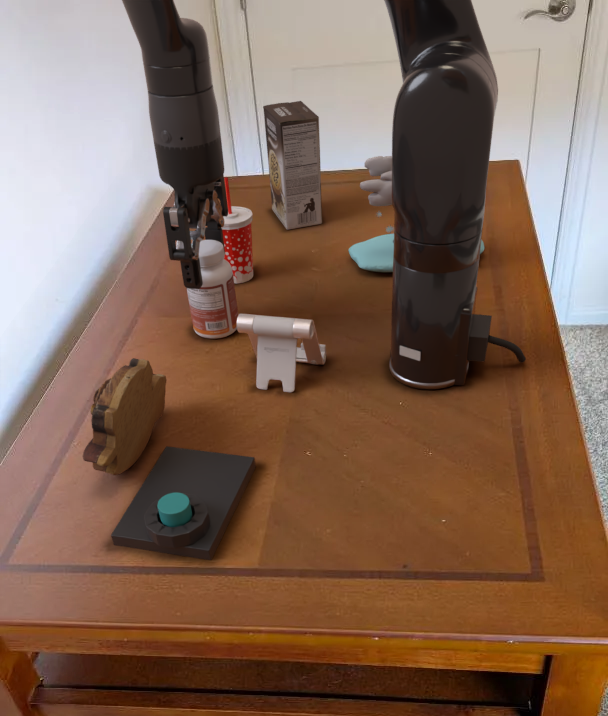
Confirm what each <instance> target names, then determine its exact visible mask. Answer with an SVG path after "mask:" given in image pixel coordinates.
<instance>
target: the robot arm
mask: <svg viewBox="0 0 608 716" xmlns="http://www.w3.org/2000/svg"><path fill="white" fill-rule="evenodd" d="M383 1H384V5H385V7H386V10H387V15H388V18H389V21H390V24H391V29H392V34H393V37H394V41H395V46H396V51H397V57H398V60H399V67H400V73H401V79H402V85H401V86H400V89H399V90H398V93H397V95H396V98H395V99H396V100H395V102H394V107H393V112H392V113H393V114H392V126H391V127H392V130H391V131H392V132H391V137H392V138H391V156H392V208H393V212H394V213H393V214H394V215H393V217H394V218H393V219H394V221H393V227H394V228H393V231H394V232H393V234H394V251H393V272H392V284H391V285H392V287H391V289H392V290H391V321H390V322H391V323H390V324H391V326H390V350H389V357H390V358H389V369H388V370H389V372H390V374H391V376H392V377H393V378H394V379H395V380H396V381H398V382H399V383H400V384H403V385H405V386H408V387H411V388H415V389H421V390H439V389H440V390H441V389H445V388H449V387H452V386H464V385H465V383H466V378H467V375H468V372H469V366H470V365H469V364H470V361H472V362H483V363H485V362H486V357H487V351H488V346H489V344H492V345H494V346H498V347H502V348H505V349H507V350H509V351H511V352H512V353H513V354H514V355H515V357H516V359H517V361H518V362H519V364H522V363H525V362H526V360H527V359H526V356H525V354H524V352H523V349H521V348H520V346H518V345H517V344H515V343H514V342H512V341H509V340H506V339H503V338H500V337H497V336H493V335H491V334H490V332H491V325H492V317H493V315H488V314H476V306H477V297H478V296H477V295H478V286H477V284H478V275H479V264H480V256H481V254H480V248H481V239H482V237H483V228H484V220H485V213H486V199H487V197H486V196H487V184H488V175H489V166H490V157H491V148H492V139H493V131H494V121H495V115H496V111H497V105H498V101H499V86H498V77H497V73H496V70H495V68H494V64H493V61H492V58H491V56H490V53H489V50H488V47H487V43H486V41H485V38H484V36H483V33H482V30H481V26H480V24H479V20H478V17H477V14H476V10H475V8H474V5H473V1H472V0H383ZM121 2H122V4H123V7H124V10H125V12H126V15H127V18H128V19H129V22H130V25H131V27H132V30H133V32H134V34H135V36H136V40H137V42H138V44H139V48H140V51H141V59H142V65H143V71H144V77H145V83H146V89H147V97H148V114H149V115H148V116H149V123H150V128H151V133H152V139H153V146H154V152H155V157H156V164H157V170H158V176H159V178H160V180H161V182H163V183H164V184H166V185H168V186H169V187H171V188H172V189H173V191H174V199H173V200H174V202H173V206H164V207H163V210H162V214H163V220H164V229H165V236H166V241H167V242H166V243H167V249H168V256H169V259H170V261H177V262H178V261H179V263H180V269H181V274H182V275H181V276H182V281H183V286H184V287H185V289H186V288H190V289H200V288H201V286H202V285H203V281H202V274H201V267H200V260H199V258H198V257H199V247H200V241H202V240H216V241H219V242H221V243H222V244H223V247H224V239H223V231H222V228H221V227H223V226H224V218H223V216H226V217H227V216H228V204H227V195H226V187H225V179H224V177H225V176H224V174H225V161H224V151H223V143H222V134H221V125H220V115H219V108H218V103H217V99H216V95H215V94H216V93H215V90H214V85H213V84H214V83H213V75H212V66H211V57H210V48H209V39H208V36H207V33H206V30H205V28H204V26H203V25H202V24H201V23H200V22H198V21H197V20H194V19H192V18H187V17H180V16H181V15H180V14H179V11H178V9H177V7H176V4H175V1H174V0H121ZM191 229H193V230H191ZM482 240H483V239H482ZM191 244H192V246H191ZM224 253H225V248H224Z"/></svg>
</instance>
